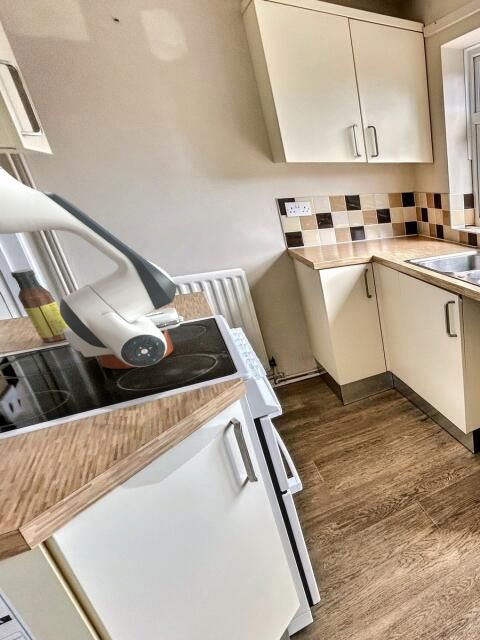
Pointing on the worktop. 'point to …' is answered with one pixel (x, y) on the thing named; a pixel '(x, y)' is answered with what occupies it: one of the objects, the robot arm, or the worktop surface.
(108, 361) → the bowl
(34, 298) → the sauce bottle
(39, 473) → the worktop surface
